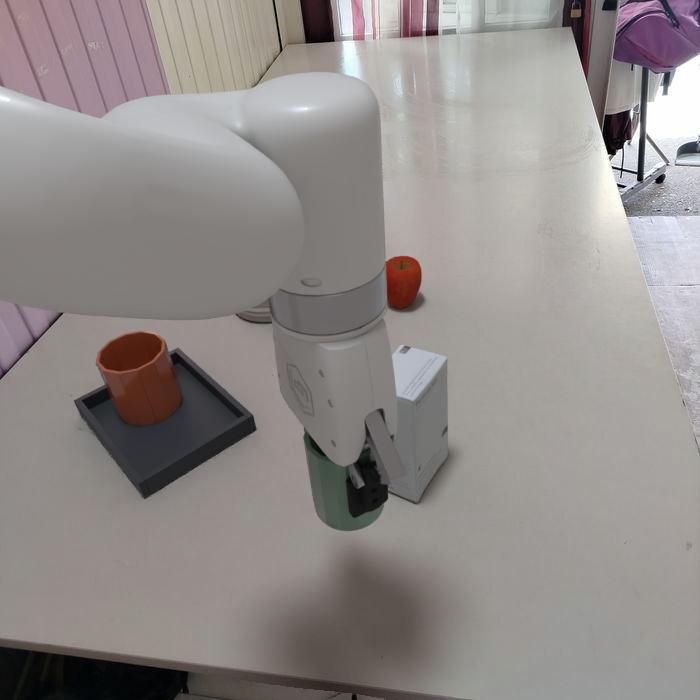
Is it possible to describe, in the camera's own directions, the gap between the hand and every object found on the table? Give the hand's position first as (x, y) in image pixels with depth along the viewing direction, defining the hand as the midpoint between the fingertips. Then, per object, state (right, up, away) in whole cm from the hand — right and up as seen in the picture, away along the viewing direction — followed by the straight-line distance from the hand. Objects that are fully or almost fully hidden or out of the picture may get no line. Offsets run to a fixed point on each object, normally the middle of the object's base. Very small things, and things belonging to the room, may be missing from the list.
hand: (346, 478), depth 51 cm
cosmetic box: (+7, -4, +23) cm, 24 cm away
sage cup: (0, -2, +2) cm, 3 cm away
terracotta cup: (-26, +3, +34) cm, 43 cm away
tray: (-24, +1, +32) cm, 40 cm away
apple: (+9, +17, +49) cm, 53 cm away
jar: (-12, +18, +53) cm, 57 cm away
